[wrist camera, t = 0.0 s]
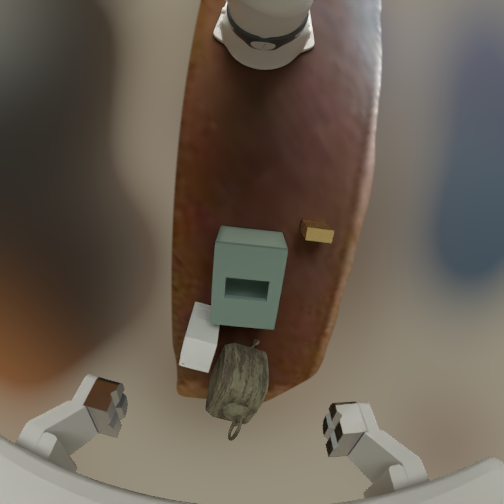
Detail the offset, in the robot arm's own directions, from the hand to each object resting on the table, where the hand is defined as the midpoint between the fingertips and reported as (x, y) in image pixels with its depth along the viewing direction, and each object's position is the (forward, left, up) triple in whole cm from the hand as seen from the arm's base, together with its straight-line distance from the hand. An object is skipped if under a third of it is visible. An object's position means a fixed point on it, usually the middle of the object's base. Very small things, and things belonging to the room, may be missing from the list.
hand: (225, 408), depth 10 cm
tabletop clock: (+38, +2, -48) cm, 62 cm away
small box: (+29, -6, -48) cm, 57 cm away
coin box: (+15, +2, -48) cm, 50 cm away
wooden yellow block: (+5, +14, -48) cm, 50 cm away
